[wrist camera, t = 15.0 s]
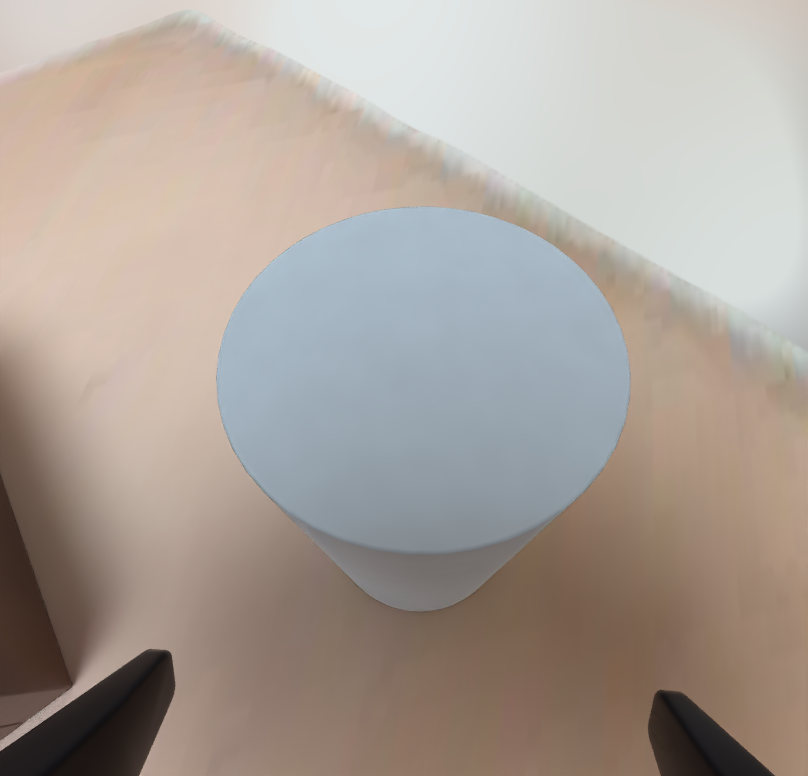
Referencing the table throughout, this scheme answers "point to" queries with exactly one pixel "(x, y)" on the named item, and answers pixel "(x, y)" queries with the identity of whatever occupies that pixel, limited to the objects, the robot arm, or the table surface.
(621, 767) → the table surface
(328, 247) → the pale blue cylinder
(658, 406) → the table surface
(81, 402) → the table surface
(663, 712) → the robot arm
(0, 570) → the tray
